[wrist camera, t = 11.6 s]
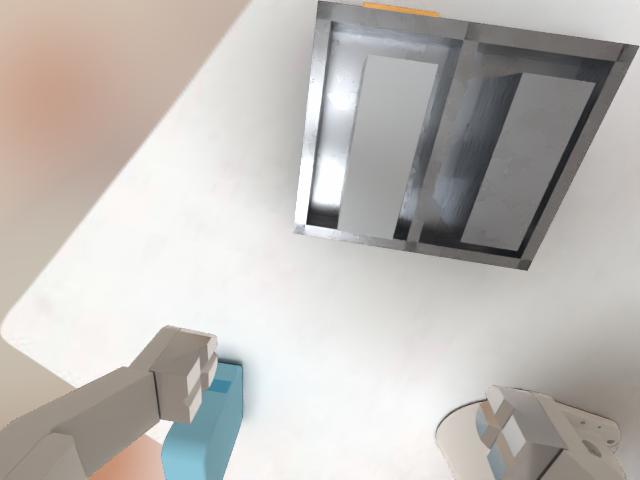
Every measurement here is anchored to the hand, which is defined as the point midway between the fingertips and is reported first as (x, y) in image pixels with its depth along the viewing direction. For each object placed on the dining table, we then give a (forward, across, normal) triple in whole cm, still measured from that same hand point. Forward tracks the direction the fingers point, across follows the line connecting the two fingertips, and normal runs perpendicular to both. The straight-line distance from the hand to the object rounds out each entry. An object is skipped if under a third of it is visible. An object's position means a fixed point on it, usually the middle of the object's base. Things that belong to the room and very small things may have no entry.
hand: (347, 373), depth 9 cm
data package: (+22, +12, +31) cm, 40 cm away
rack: (+22, -6, -5) cm, 23 cm away
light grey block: (+22, -1, -4) cm, 22 cm away
